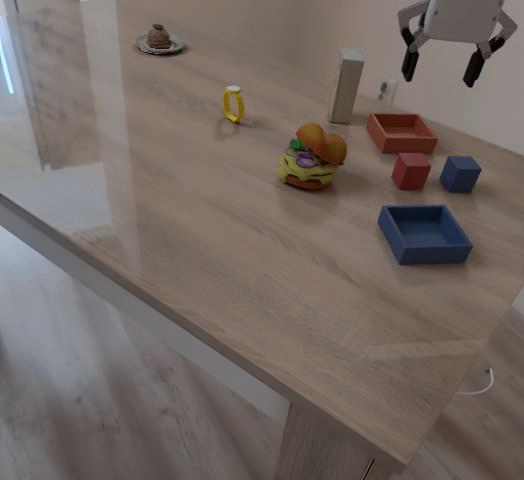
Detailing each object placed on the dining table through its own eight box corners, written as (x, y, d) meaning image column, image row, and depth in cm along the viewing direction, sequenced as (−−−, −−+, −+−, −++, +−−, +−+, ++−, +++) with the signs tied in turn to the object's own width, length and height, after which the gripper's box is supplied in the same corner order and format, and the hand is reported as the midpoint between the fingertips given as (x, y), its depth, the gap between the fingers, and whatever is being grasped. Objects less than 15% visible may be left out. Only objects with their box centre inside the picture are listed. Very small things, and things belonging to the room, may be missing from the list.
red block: (414, 176, 88) (422, 152, 84) (422, 189, 85) (431, 166, 82) (391, 176, 87) (398, 152, 84) (399, 189, 84) (407, 166, 81)
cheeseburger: (265, 165, 85) (284, 108, 79) (315, 172, 90) (336, 119, 84) (287, 195, 79) (309, 136, 73) (339, 201, 84) (364, 146, 78)
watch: (246, 124, 96) (248, 93, 91) (234, 127, 95) (236, 95, 90) (230, 112, 99) (231, 81, 94) (219, 114, 98) (219, 83, 93)
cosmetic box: (328, 109, 103) (339, 46, 94) (348, 111, 104) (361, 48, 94) (329, 122, 99) (341, 58, 90) (350, 124, 100) (365, 60, 90)
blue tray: (438, 220, 79) (445, 204, 77) (465, 262, 72) (473, 246, 70) (377, 222, 77) (382, 205, 75) (398, 264, 70) (405, 247, 68)
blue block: (461, 179, 89) (471, 156, 85) (471, 192, 86) (482, 169, 82) (438, 179, 88) (448, 155, 85) (448, 192, 85) (458, 169, 82)
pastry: (135, 38, 122) (132, 16, 118) (182, 39, 124) (181, 18, 120) (135, 55, 114) (133, 33, 111) (186, 56, 116) (185, 35, 113)
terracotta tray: (414, 128, 101) (418, 113, 99) (432, 153, 94) (438, 138, 92) (366, 127, 99) (369, 112, 97) (381, 153, 93) (386, 137, 90)
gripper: (539, -61, 64) (483, 77, 77) (413, -76, 63) (378, 67, 76) (562, -49, 59) (498, 96, 72) (426, -64, 58) (386, 86, 71)
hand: (437, 81), depth 74 cm, fingers open, 9 cm apart
